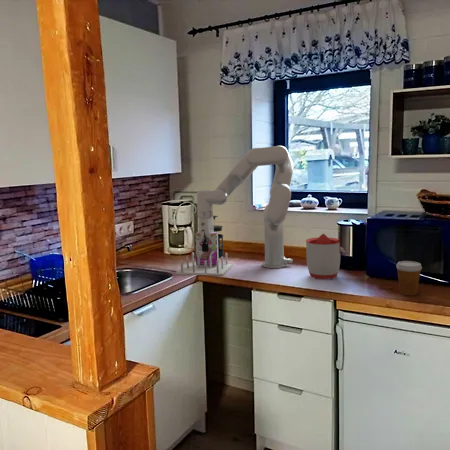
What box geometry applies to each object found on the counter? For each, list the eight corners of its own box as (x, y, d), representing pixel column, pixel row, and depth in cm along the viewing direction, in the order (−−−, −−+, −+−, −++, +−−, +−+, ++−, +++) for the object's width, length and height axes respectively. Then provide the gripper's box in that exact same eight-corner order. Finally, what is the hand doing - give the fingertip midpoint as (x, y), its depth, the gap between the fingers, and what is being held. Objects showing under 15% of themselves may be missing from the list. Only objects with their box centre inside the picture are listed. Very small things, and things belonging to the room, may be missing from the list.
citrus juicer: (346, 281, 200) (346, 236, 197) (306, 281, 203) (305, 237, 200) (343, 272, 216) (343, 230, 212) (305, 272, 218) (305, 230, 215)
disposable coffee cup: (394, 288, 188) (395, 260, 186) (419, 290, 185) (420, 261, 183) (396, 295, 179) (396, 266, 177) (422, 297, 176) (423, 267, 174)
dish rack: (232, 265, 235) (232, 252, 234) (223, 275, 217) (222, 261, 216) (188, 264, 241) (187, 251, 240) (175, 274, 223) (175, 260, 222)
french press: (211, 253, 265) (210, 214, 262) (227, 254, 262) (225, 214, 258) (203, 258, 255) (201, 217, 251) (219, 259, 251) (217, 217, 248)
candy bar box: (196, 265, 231) (194, 233, 228) (197, 263, 236) (196, 232, 233) (218, 265, 230) (216, 233, 227) (219, 263, 235) (217, 231, 232)
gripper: (207, 217, 220) (209, 254, 222) (217, 212, 236) (218, 246, 239) (192, 217, 221) (194, 253, 224) (203, 212, 238) (204, 246, 241)
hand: (207, 249), depth 232 cm, fingers closed on candy bar box, 5 cm apart
